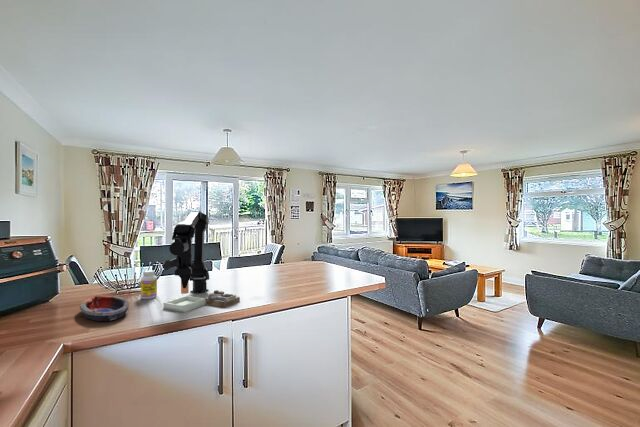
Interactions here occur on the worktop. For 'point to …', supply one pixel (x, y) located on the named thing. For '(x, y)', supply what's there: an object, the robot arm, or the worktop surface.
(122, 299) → the dish
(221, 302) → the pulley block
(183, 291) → the pin
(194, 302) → the tray
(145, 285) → the supplement bottle
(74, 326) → the worktop surface
